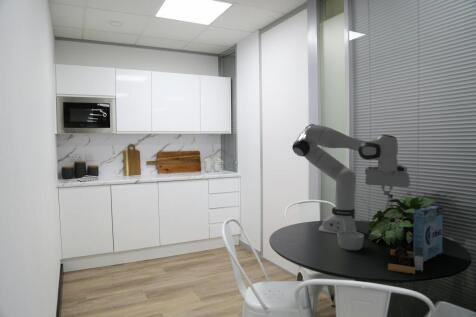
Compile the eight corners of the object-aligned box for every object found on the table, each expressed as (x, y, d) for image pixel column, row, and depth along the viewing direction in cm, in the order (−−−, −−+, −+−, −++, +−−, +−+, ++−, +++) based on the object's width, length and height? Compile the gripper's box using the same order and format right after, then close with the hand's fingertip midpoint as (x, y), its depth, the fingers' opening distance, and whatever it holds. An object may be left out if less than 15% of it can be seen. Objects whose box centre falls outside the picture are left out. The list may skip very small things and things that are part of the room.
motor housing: (388, 270, 138) (388, 254, 137) (390, 254, 157) (390, 240, 157) (423, 275, 132) (423, 259, 132) (421, 258, 151) (421, 244, 151)
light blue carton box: (423, 262, 147) (424, 212, 146) (412, 259, 151) (413, 210, 150) (442, 253, 158) (443, 207, 157) (431, 251, 162) (432, 205, 161)
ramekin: (366, 252, 161) (366, 238, 161) (338, 250, 164) (338, 237, 163) (361, 244, 174) (361, 231, 174) (335, 242, 176) (336, 230, 176)
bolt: (404, 273, 139) (398, 260, 153) (415, 268, 137) (409, 256, 152) (397, 261, 140) (392, 249, 154) (408, 256, 138) (402, 245, 152)
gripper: (364, 166, 164) (363, 194, 164) (410, 168, 154) (409, 197, 155) (365, 166, 169) (365, 192, 170) (410, 167, 160) (409, 195, 161)
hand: (386, 194), depth 162 cm, fingers closed
